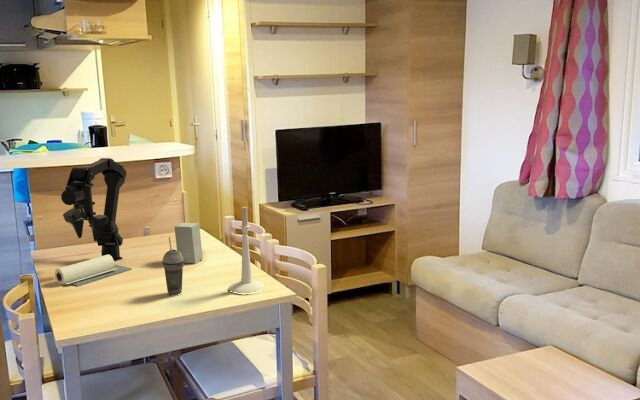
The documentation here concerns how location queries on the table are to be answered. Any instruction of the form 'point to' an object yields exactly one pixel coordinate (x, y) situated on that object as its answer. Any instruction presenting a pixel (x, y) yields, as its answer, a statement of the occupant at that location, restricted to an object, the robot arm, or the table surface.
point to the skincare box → (189, 242)
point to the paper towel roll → (84, 269)
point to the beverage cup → (173, 270)
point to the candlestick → (245, 263)
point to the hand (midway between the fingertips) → (87, 239)
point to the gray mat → (102, 275)
